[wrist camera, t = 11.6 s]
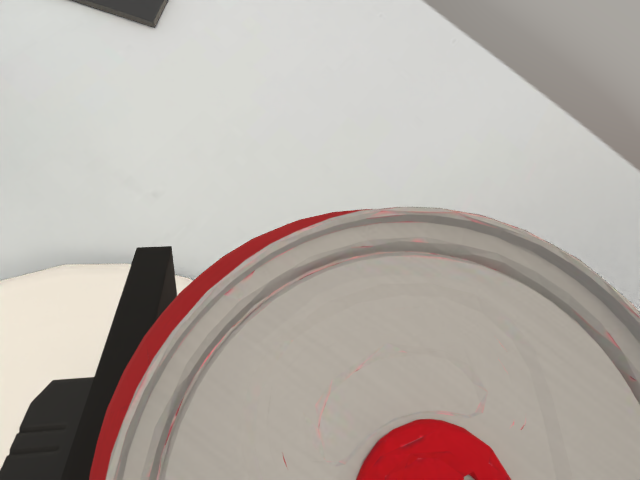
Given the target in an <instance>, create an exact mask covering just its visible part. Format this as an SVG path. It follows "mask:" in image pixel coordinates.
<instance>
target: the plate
mask: <svg viewBox="0 0 640 480" xmlns="http://www.w3.org/2000/svg"><path fill="white" fill-rule="evenodd" d="M130 267H131V264H69V265H60V266H56V267H52V268H48V269H45V270H41V271H37V272H33V273H29V274H25V275H21V276H17V277H13V278H9V279H5V280H2V281H0V470H1V467H2V465H3V463H4V461H5V459H6V456H7V455H9V453H10V447H11V445H12V443H13V441H14V439H15V436H16V434H17V433H19V428H20V425H21V423H22V421H23V419H24V416H25V414H26V412H27V410H28V408H29V405H30V403H31V402H32V401H33V400H34V399H35V398H36V397H37V396H38V395H39V394H40V393H41V392H42V391H43V390H44V389H45V388H46V387H47V385H48V384H49V383H50V382H51V381H52V380H60V379H74V378H87V377H94V376H95V373H96V370H97V367H98V364H99V361H100V358H101V355H102V352H103V349H104V346H105V343H106V340H107V337H108V334H109V331H110V328H111V325H112V322H113V319H114V316H115V313H116V310H117V307H118V304H119V301H120V298H121V295H122V291H123V288H124V285H125V282H126V279H127V276H128V273H129V270H130ZM175 281H176V290H177V295H178V294H179V293H180V292H181V291H182V290H183V289H184V288H186V287H187V286H188V285H189V284H190V283H191V282H193V281H192V280H191V279H189V278H186V277H181V276H177V275H175Z"/></svg>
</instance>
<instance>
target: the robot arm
mask: <svg viewBox="0 0 640 480" xmlns="http://www.w3.org/2000/svg"><path fill="white" fill-rule="evenodd" d="M176 297H177V290H176V281H175V273H174V265H173V256H172V248H171V246H167V247H142V248H137V249H136V252H135V255H134V258H133V261H132V264H131V267H130V270H129V273H128V276H127V279H126V282H125V285H124V288H123V291H122V295H121V298H120V301H119V304H118V307H117V310H116V313H115V316H114V319H113V322H112V325H111V328H110V331H109V334H108V337H107V340H106V343H105V346H104V349H103V352H102V355H101V358H100V361H99V364H98V367H97V370H96V373H95V376H94V377H87V378H74V379H60V380H52V381H51V382H50V383H49V384H48V385H47V387H46V388H45V389H44V390H43V391H42V392H41V393H40V394H39V395H38V396H37V397H36V398H35V399H34V400H33V401H32V402H31V403H30V405H29V408H28V410H27V412H26V414H25V416H24V419H23V421H22V423H21V425H20V428H19V433H17V434H16V436H15V439H14V441H13V443H12V445H11V447H10V453H9V455H7V456H6V459H5V461H4V463H3V465H2V467H1V470H0V480H89V477H90V471H91V467H92V462H93V458H94V454H95V449H96V445H97V441H98V438H99V434H100V431H101V427H102V424H103V420H104V417H105V414H106V410H107V408H108V405H109V403H110V401H111V399H112V396H113V394H114V392H115V390H116V387H117V385H118V383H119V381H120V378H121V376H122V374H123V372H124V370H125V368H126V366H127V365H128V363H129V361H130V360H131V358H132V356H133V354H134V353H135V351H136V349H137V348H138V346H139V344H140V342H141V341H142V339H143V337H144V336H145V335H146V333H147V332H148V331H149V329H150V328H151V327H152V326H153V324H154V323H155V322H156V320H157V319H158V318H159V316H160V315H161V314H162V313H163V312H164V310H165V309H166V308H167V307H168V306H169V305H170V303H171V302H172V301H173V300H174V299H175V298H176Z"/></svg>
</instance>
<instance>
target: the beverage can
mask: <svg viewBox="0 0 640 480" xmlns="http://www.w3.org/2000/svg"><path fill="white" fill-rule="evenodd" d="M89 480H640V312H639V311H638V310H637V309H636V308H635V307H634V305H633V304H632V303H631V302H630V301H629V300H627V299H626V298H625V297H624V296H623V295H622V294H620V293H619V292H618V291H617V290H616V289H614V288H613V287H612V286H611V285H610V284H609V283H607V282H606V281H605V280H604V279H603V278H602V277H600V276H599V275H598V274H597V273H595V272H594V271H593V270H592V269H591V268H589V267H588V266H587V265H586V264H584V263H583V262H582V261H581V260H579V259H577V258H576V257H574V256H572V255H570V254H568V253H567V252H565V251H563V250H561V249H559V248H558V247H556V246H554V245H552V244H551V243H549V242H547V241H545V240H543V239H541V238H539V237H537V236H535V235H533V234H531V233H530V232H528V231H526V230H523V229H520V228H517V227H514V226H512V225H509V224H506V223H503V222H500V221H497V220H494V219H491V218H488V217H486V216H483V215H478V214H472V213H466V212H460V211H454V210H448V209H442V208H427V207H395V208H384V209H365V210H353V211H342V212H332V213H328V214H323V215H319V216H314V217H310V218H306V219H301V220H298V221H295V222H292V223H290V224H287V225H285V226H282V227H280V228H277V229H275V230H273V231H270V232H268V233H265V234H263V235H261V236H258V237H256V238H253V239H252V240H250V241H248V242H247V243H245V244H243V245H242V246H240V247H238V248H237V249H235V250H233V251H232V252H230V253H228V254H227V255H225V256H223V257H222V258H221V259H219V260H218V261H217V262H216V263H214V264H213V265H212V266H211V267H209V268H208V269H207V270H205V271H204V272H203V273H202V274H201V275H199V276H198V277H197V278H196V279H195V280H194V281H193V282H191V283H190V284H189V285H188V286H187V287H186V288H184V289H183V290H182V291H181V292H180V293H179V294H178V295H177V297H176V298H175V299H174V300H173V301H172V302H171V303H170V305H169V306H168V307H167V308H166V309H165V310H164V312H163V313H162V314H161V315H160V316H159V318H158V319H157V320H156V322H155V323H154V324H153V326H152V327H151V328H150V329H149V331H148V332H147V333H146V335H145V336H144V337H143V339H142V341H141V342H140V344H139V346H138V348H137V349H136V351H135V353H134V354H133V356H132V358H131V360H130V361H129V363H128V365H127V366H126V368H125V370H124V372H123V374H122V376H121V378H120V381H119V383H118V385H117V387H116V390H115V392H114V394H113V396H112V399H111V401H110V403H109V405H108V408H107V410H106V414H105V417H104V420H103V424H102V427H101V431H100V434H99V438H98V441H97V445H96V449H95V454H94V458H93V462H92V467H91V471H90V477H89Z"/></svg>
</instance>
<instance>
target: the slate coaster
mask: <svg viewBox="0 0 640 480" xmlns="http://www.w3.org/2000/svg"><path fill="white" fill-rule="evenodd" d="M72 1H75V2H78V3H81V4H84V5H87V6H90V7H93V8H96V9H99V10H102V11H105V12H108V13H112V14H115V15H118V16H121V17H124V18H127V19H130V20H133V21H136V22H139V23H142V24H145V25H148V26H151V27H155V26H156V24H157V22H158V20H159V18H160V16H161V13H162V11H163V9H164V7H165V5H166V3H167V1H168V0H72Z"/></svg>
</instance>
